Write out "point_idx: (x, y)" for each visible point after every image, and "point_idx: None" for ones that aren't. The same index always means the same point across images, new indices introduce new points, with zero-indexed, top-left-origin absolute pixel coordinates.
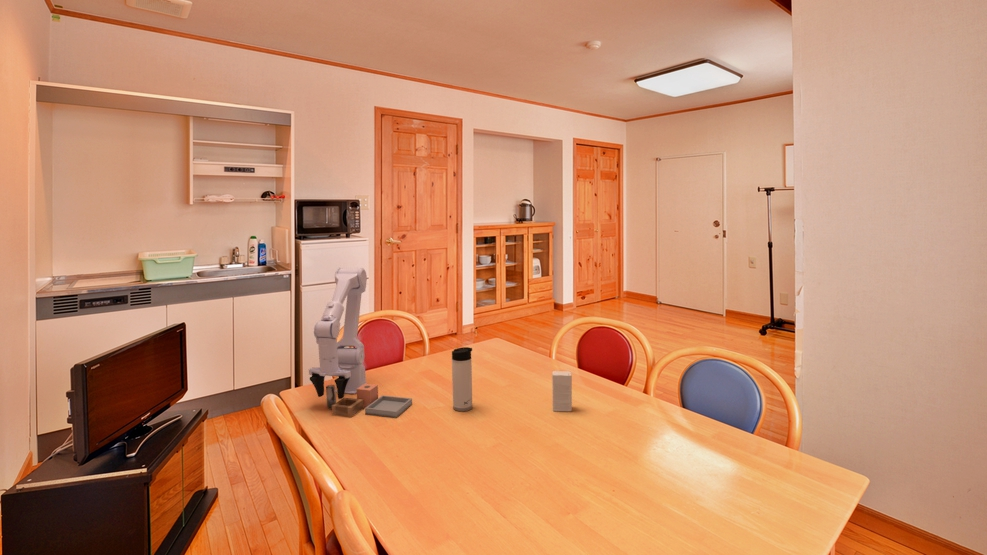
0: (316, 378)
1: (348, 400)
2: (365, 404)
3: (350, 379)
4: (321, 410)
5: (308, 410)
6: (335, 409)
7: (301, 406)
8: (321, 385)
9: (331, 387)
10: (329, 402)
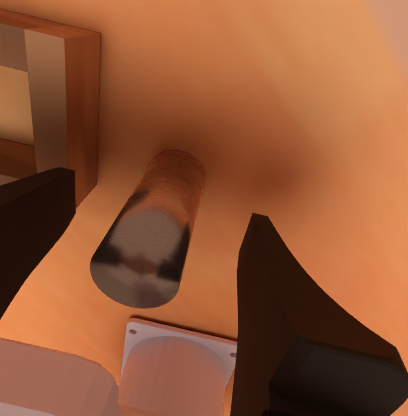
0: (282, 361)
1: (16, 173)
2: None
3: (133, 405)
4: (222, 116)
5: (323, 115)
6: (41, 26)
7: (396, 183)
8: (248, 307)
9: (107, 252)
10: (166, 167)
